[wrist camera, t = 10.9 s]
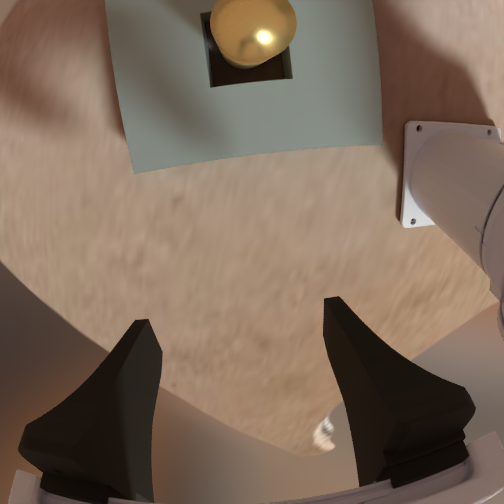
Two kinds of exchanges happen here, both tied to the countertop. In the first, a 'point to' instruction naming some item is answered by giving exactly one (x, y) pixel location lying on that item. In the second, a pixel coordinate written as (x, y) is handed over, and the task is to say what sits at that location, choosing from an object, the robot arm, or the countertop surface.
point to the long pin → (252, 30)
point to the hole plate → (242, 84)
